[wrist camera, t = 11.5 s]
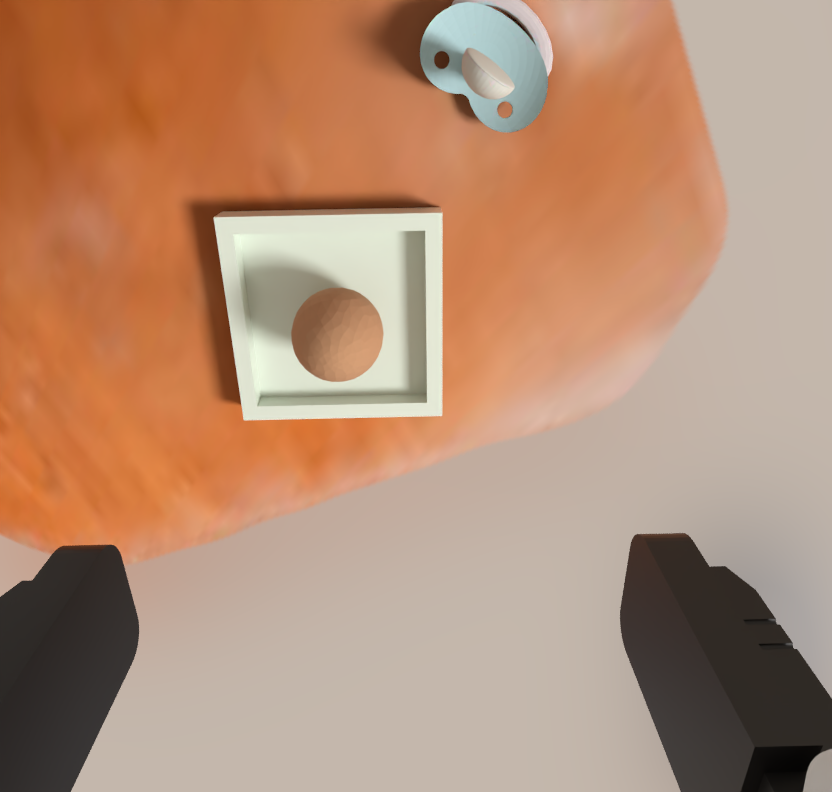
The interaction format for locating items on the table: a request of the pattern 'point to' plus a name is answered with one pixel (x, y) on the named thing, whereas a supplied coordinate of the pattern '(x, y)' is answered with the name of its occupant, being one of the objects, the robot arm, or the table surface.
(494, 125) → the pacifier
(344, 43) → the table surface
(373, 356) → the egg
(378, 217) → the dish
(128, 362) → the table surface
